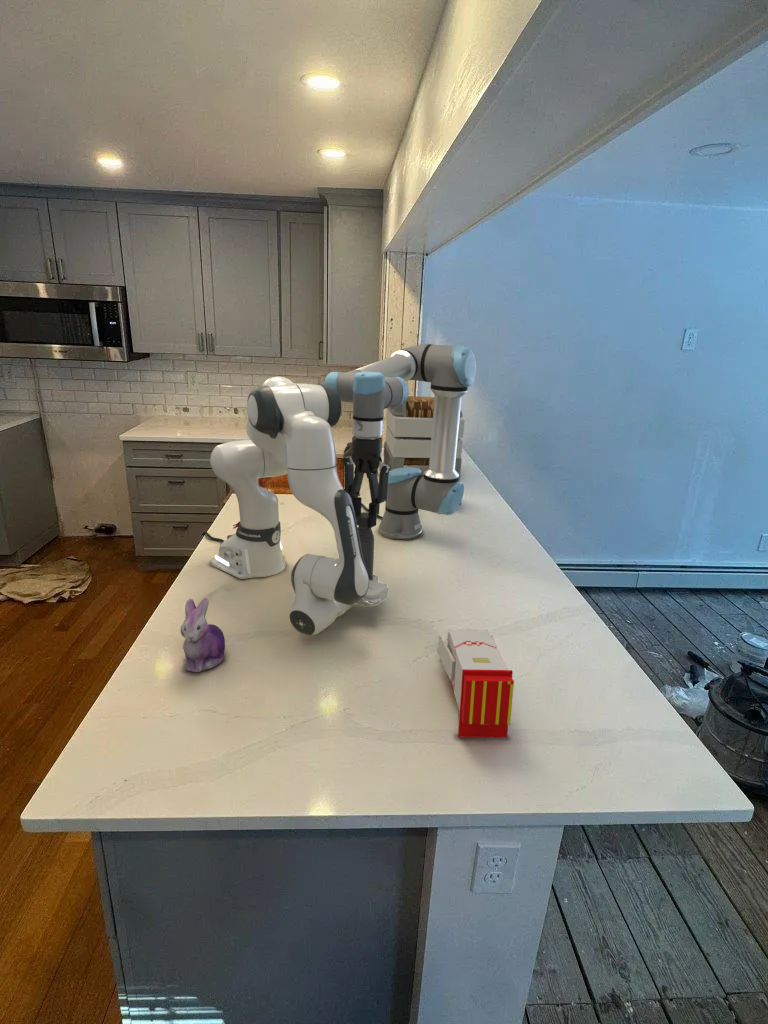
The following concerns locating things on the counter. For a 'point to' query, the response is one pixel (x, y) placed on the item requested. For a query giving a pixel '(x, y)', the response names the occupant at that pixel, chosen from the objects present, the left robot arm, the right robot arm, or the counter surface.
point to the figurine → (201, 638)
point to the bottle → (367, 547)
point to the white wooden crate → (413, 434)
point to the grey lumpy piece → (348, 450)
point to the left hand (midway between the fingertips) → (364, 574)
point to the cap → (362, 519)
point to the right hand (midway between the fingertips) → (364, 523)
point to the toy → (478, 682)
